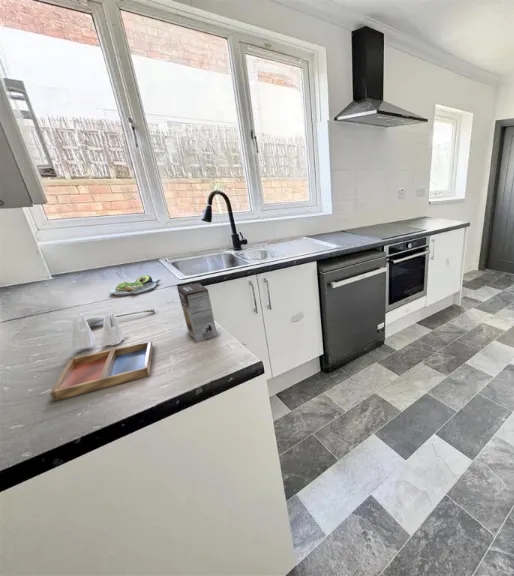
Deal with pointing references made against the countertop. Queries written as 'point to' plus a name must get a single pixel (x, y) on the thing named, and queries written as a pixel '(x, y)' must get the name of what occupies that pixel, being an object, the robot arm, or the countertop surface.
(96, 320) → the soupspoon
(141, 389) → the countertop surface
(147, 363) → the sorting tray
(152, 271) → the countertop surface
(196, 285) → the coffee box
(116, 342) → the shaker set
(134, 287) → the avocado toast plate
